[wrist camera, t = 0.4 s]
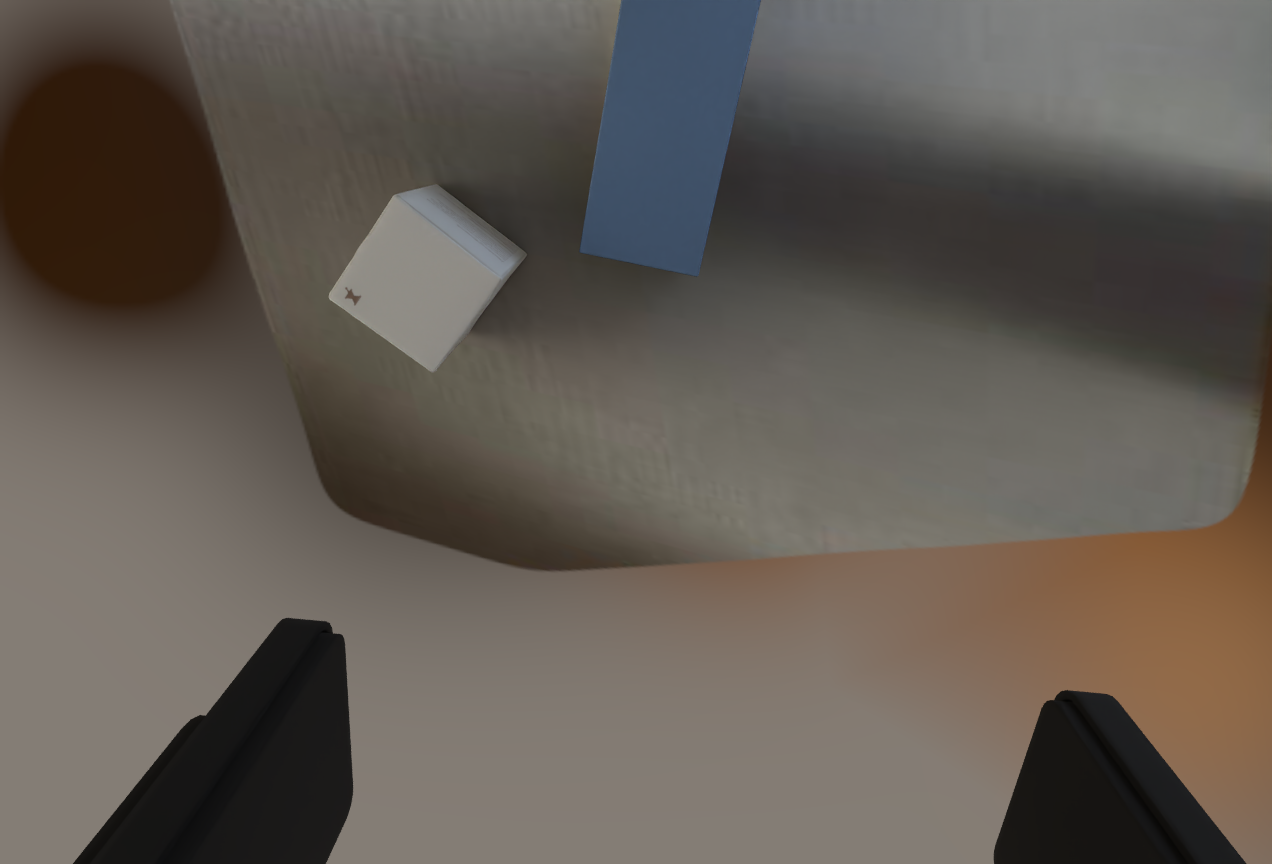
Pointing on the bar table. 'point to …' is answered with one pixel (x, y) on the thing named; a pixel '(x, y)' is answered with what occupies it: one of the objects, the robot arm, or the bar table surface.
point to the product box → (426, 273)
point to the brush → (666, 129)
